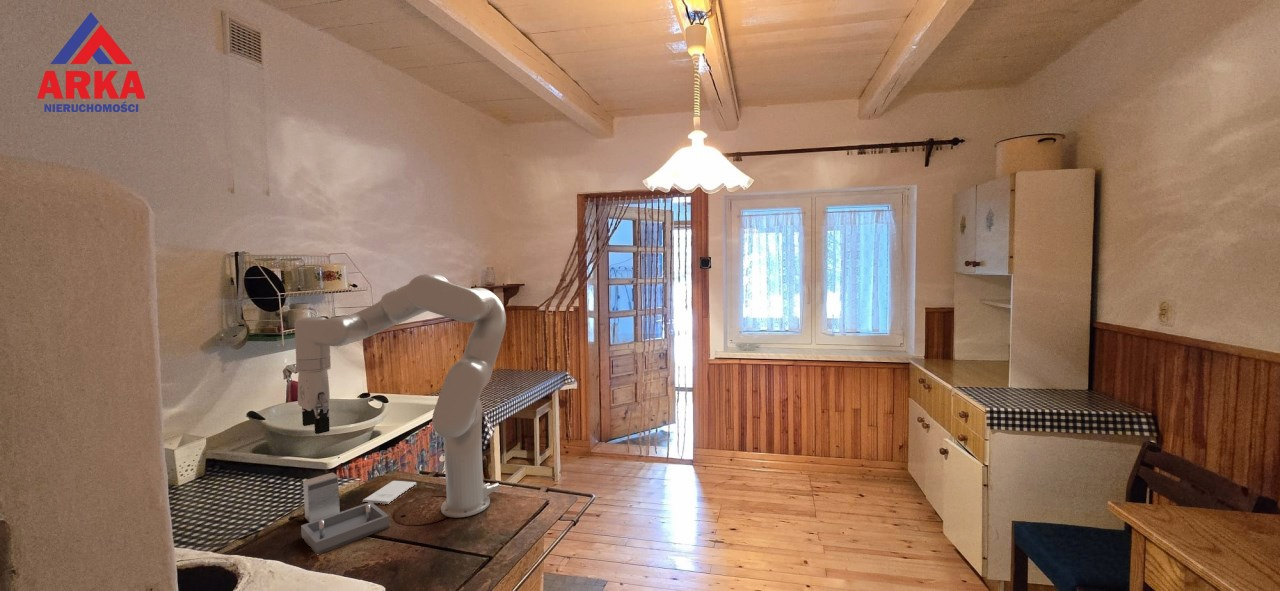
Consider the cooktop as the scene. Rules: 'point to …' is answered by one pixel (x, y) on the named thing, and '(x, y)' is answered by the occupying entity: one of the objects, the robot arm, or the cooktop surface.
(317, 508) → the block
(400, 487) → the external hard drive
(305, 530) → the tray
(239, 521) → the cooktop surface
